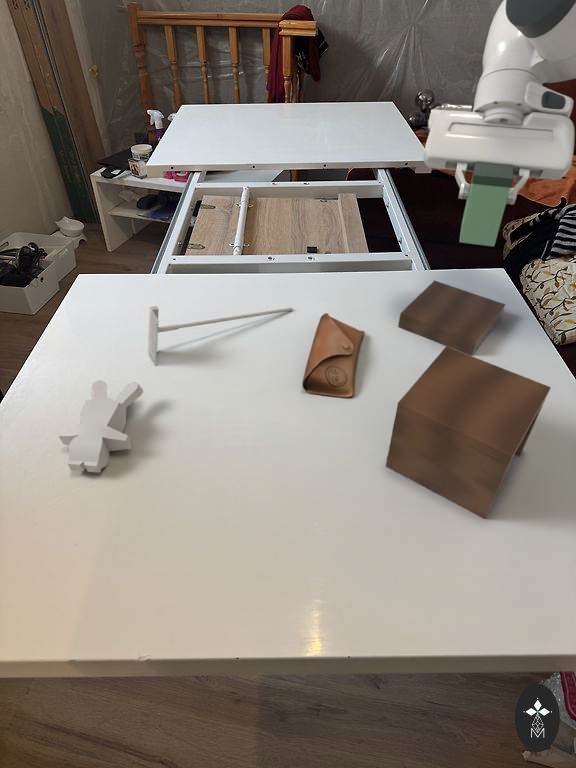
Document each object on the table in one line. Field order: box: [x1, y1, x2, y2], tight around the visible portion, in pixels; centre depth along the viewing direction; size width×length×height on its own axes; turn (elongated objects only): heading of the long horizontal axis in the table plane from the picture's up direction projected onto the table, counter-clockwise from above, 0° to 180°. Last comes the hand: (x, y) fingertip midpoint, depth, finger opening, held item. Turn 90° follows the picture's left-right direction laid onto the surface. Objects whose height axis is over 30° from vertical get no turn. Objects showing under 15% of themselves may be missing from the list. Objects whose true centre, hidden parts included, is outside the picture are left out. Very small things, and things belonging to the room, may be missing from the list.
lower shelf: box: [397, 280, 506, 357], centre depth 96 cm, size 14×14×3 cm
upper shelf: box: [385, 345, 552, 520], centre depth 69 cm, size 14×14×12 cm
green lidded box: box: [458, 162, 515, 248], centre depth 78 cm, size 7×5×10 cm
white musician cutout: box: [58, 380, 144, 473], centre depth 75 cm, size 10×5×15 cm
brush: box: [147, 305, 293, 366], centre depth 93 cm, size 4×27×9 cm, turn 119°
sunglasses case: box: [302, 312, 366, 399], centre depth 88 cm, size 18×7×7 cm, turn 169°
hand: (486, 200), depth 77 cm, fingers closed on green lidded box, 5 cm apart
